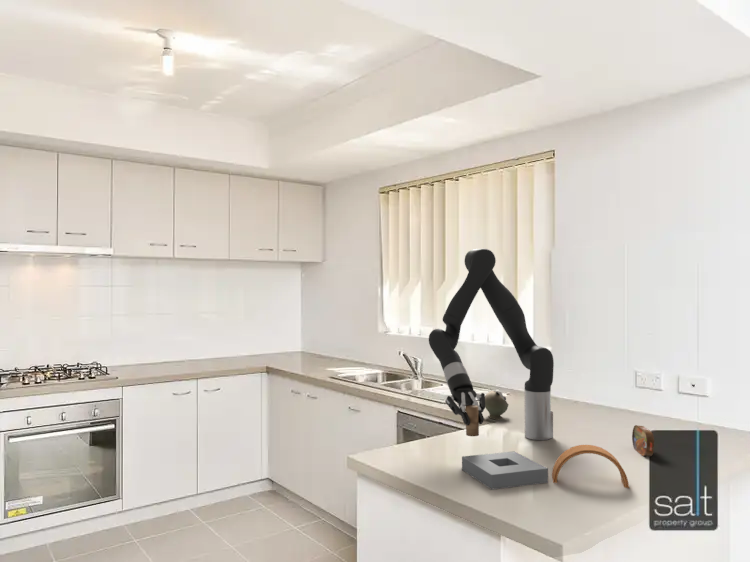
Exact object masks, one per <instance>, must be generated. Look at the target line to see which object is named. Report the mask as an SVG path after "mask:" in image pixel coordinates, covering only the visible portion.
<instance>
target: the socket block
mask: <svg viewBox="0 0 750 562" xmlns="http://www.w3.org/2000/svg"><path fill="white" fill-rule="evenodd" d="M461 470H462V471H463V472H465V473H466V474H468V475H469V476H471V477H472V478H474V479H475V480H477V481H478V482H479V483H481V484H482V485H484V486H485V487H487V488H489V489H490V490H499V489H507V488H513V487H515V488H516V487H522V486H529V485H531V486H532V485H537V484H538V485H539V484H545V483H549V468H548V467H546V466H544V465H543V464H540V463H538V462H536V461H534V460H532V459H530V458H528V457H527V456H524V455H523V454H520V453H518V452H516V451H515V450H512V451H502V452H501V451H500V452H493V453H485V454H483V453H482V454H481V453H480V454H475V455H463V456H461Z"/></svg>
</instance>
